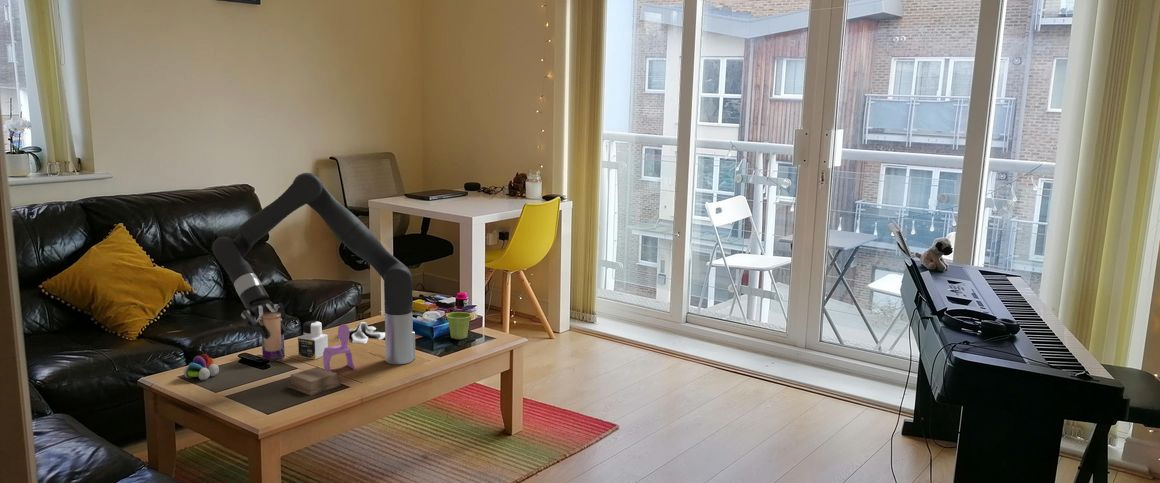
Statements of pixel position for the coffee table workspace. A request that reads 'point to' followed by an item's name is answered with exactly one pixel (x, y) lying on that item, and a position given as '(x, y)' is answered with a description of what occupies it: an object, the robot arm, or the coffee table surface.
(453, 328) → the plant pot
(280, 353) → the beverage can
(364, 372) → the coffee table surface
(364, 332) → the cloth
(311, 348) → the medicine bottle
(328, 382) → the base slab
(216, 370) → the colorful domed toy
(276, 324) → the canister
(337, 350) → the toy chair
